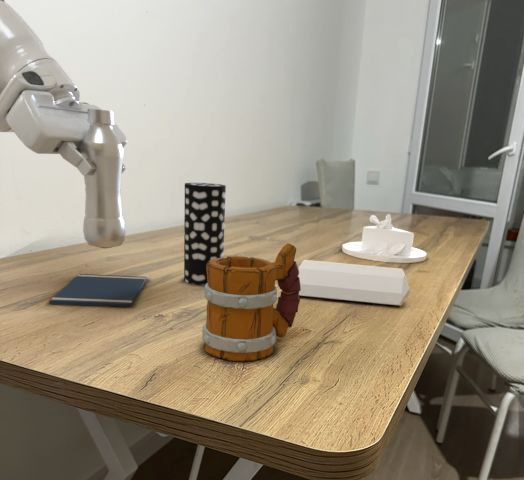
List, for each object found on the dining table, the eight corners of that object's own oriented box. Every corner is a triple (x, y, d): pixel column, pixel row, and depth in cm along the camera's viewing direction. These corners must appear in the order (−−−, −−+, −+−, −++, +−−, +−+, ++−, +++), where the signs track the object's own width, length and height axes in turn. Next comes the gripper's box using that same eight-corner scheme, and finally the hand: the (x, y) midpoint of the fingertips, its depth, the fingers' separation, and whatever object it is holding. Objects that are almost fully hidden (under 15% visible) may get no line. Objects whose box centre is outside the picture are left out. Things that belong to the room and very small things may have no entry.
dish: (325, 249, 156) (329, 211, 151) (374, 243, 172) (379, 208, 167) (393, 266, 139) (400, 223, 135) (441, 257, 155) (449, 219, 151)
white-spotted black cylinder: (229, 283, 112) (233, 186, 104) (195, 287, 107) (197, 186, 100) (210, 274, 118) (212, 182, 110) (177, 278, 113) (177, 182, 106)
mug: (186, 342, 77) (187, 242, 72) (274, 327, 86) (281, 236, 81) (223, 368, 69) (227, 257, 64) (316, 348, 78) (327, 249, 73)
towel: (49, 304, 91) (49, 300, 91) (79, 276, 109) (79, 273, 109) (130, 307, 92) (130, 303, 92) (146, 279, 110) (146, 276, 110)
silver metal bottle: (80, 250, 79) (72, 106, 72) (87, 242, 85) (81, 109, 78) (123, 252, 80) (120, 111, 73) (127, 244, 86) (125, 113, 79)
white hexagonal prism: (408, 279, 108) (294, 268, 111) (414, 268, 101) (292, 257, 104) (405, 313, 107) (290, 301, 110) (411, 305, 100) (288, 293, 103)
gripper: (81, 118, 88) (132, 183, 89) (-16, 107, 70) (48, 189, 71) (102, 90, 85) (154, 158, 86) (6, 71, 67) (73, 157, 68)
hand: (106, 172), depth 78 cm, fingers closed on silver metal bottle, 6 cm apart
